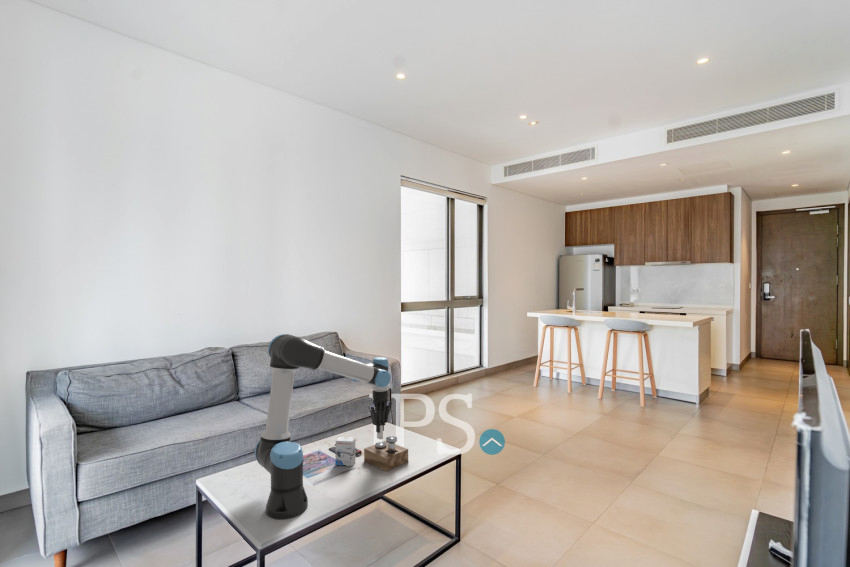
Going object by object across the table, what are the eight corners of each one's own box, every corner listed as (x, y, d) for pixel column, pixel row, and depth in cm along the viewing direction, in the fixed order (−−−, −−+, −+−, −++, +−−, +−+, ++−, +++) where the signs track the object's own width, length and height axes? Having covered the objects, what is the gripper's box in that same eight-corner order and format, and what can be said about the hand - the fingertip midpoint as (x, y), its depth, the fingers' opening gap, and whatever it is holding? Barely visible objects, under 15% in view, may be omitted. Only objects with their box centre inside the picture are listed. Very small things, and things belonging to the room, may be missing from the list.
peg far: (380, 461, 199) (380, 447, 199) (373, 458, 203) (373, 444, 203) (388, 458, 203) (388, 443, 203) (381, 455, 206) (381, 441, 206)
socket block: (386, 471, 189) (385, 458, 189) (364, 460, 200) (364, 448, 200) (408, 461, 199) (408, 449, 199) (386, 452, 211) (386, 440, 210)
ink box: (334, 465, 195) (334, 440, 195) (338, 461, 200) (338, 436, 200) (352, 466, 195) (352, 441, 194) (355, 461, 200) (355, 437, 200)
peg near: (391, 455, 193) (391, 441, 193) (383, 452, 197) (383, 438, 197) (399, 452, 197) (399, 438, 197) (392, 449, 201) (392, 435, 201)
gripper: (374, 393, 195) (374, 444, 195) (395, 388, 205) (395, 437, 204) (364, 390, 200) (364, 439, 200) (385, 386, 210) (385, 433, 210)
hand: (379, 438), depth 202 cm, fingers closed
